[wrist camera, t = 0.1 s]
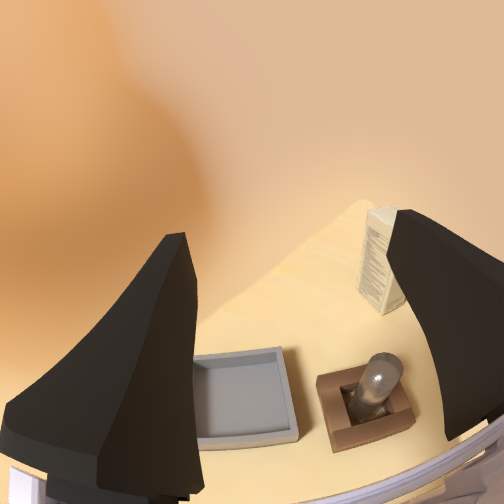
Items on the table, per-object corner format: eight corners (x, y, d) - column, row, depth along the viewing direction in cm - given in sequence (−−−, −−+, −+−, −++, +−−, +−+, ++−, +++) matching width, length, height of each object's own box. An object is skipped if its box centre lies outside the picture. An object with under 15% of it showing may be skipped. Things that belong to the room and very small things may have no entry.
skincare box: (404, 305, 34) (428, 226, 27) (381, 317, 33) (405, 235, 26) (375, 278, 39) (390, 203, 32) (353, 288, 38) (366, 209, 31)
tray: (297, 441, 21) (299, 434, 20) (190, 451, 21) (182, 444, 20) (281, 359, 30) (280, 346, 28) (191, 368, 29) (185, 356, 28)
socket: (408, 429, 20) (416, 421, 19) (333, 453, 20) (337, 448, 19) (384, 368, 27) (389, 358, 26) (315, 384, 26) (317, 375, 25)
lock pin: (379, 416, 22) (408, 377, 18) (352, 424, 22) (374, 388, 18) (371, 392, 25) (394, 348, 20) (344, 399, 25) (362, 357, 20)
